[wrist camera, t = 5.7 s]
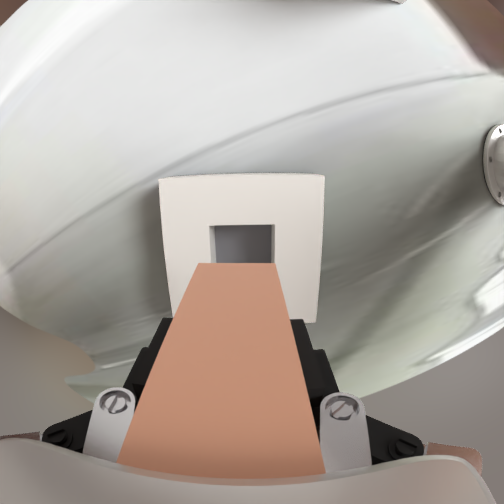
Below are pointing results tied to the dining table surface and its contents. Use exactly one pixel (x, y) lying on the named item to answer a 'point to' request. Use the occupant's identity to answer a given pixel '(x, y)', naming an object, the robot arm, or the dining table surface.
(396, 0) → the milk carton
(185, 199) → the socket block
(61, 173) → the dining table surface
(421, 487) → the robot arm
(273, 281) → the peg
